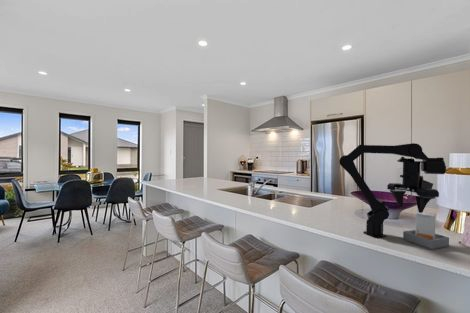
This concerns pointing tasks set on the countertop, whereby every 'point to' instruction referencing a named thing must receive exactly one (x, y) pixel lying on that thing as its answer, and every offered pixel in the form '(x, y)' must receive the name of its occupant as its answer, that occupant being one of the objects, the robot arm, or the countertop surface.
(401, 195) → the robot arm
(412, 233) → the tray
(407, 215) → the countertop surface
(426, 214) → the skincare box
